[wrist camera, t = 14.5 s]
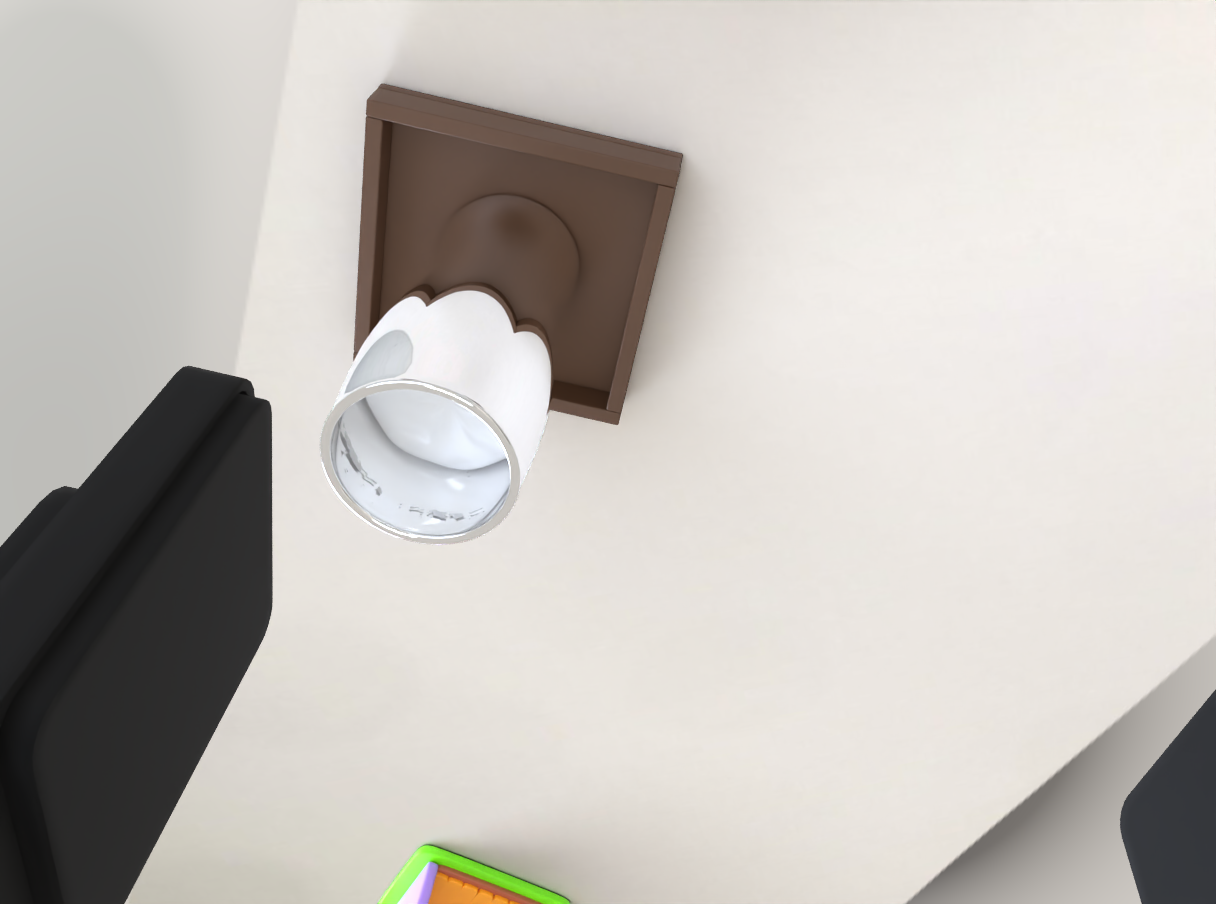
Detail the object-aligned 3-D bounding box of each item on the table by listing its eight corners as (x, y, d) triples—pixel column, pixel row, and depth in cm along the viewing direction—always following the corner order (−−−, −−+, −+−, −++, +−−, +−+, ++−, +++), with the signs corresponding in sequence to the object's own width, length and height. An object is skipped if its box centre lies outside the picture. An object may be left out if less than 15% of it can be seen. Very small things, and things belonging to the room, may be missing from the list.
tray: (381, 82, 43) (366, 98, 41) (683, 153, 43) (679, 172, 41) (366, 342, 50) (352, 365, 48) (623, 401, 50) (617, 425, 49)
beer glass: (408, 282, 47) (284, 491, 35) (470, 152, 43) (355, 337, 31) (546, 355, 49) (473, 580, 37) (619, 235, 45) (564, 443, 33)
